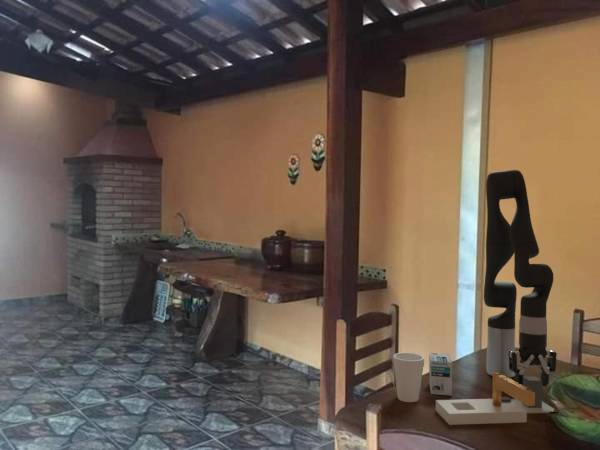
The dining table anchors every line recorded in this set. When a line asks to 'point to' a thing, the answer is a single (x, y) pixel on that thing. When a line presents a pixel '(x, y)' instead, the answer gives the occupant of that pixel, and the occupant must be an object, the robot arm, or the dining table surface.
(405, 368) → the foam cup
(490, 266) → the robot arm
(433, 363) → the light bulb box
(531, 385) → the plug
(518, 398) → the orange lever handle
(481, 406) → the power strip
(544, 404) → the mat
